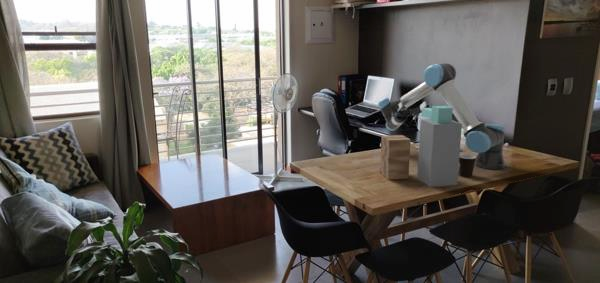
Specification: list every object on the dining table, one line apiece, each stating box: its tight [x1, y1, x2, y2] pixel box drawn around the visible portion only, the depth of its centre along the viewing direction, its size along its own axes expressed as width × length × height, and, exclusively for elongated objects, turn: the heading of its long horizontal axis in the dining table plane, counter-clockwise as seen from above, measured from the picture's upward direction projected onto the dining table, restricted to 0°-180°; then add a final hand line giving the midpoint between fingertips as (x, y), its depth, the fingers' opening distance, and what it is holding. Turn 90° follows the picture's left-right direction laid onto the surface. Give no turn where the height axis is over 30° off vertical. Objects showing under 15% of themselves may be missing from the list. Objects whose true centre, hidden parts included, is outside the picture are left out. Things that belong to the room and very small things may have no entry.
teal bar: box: [421, 105, 453, 123], centre depth 218 cm, size 21×7×7 cm, turn 10°
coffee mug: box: [458, 154, 477, 178], centre depth 229 cm, size 12×9×10 cm
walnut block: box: [379, 134, 411, 180], centre depth 227 cm, size 11×11×20 cm
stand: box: [417, 118, 463, 188], centre depth 216 cm, size 14×14×30 cm
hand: (413, 103), depth 241 cm, fingers open, 13 cm apart
